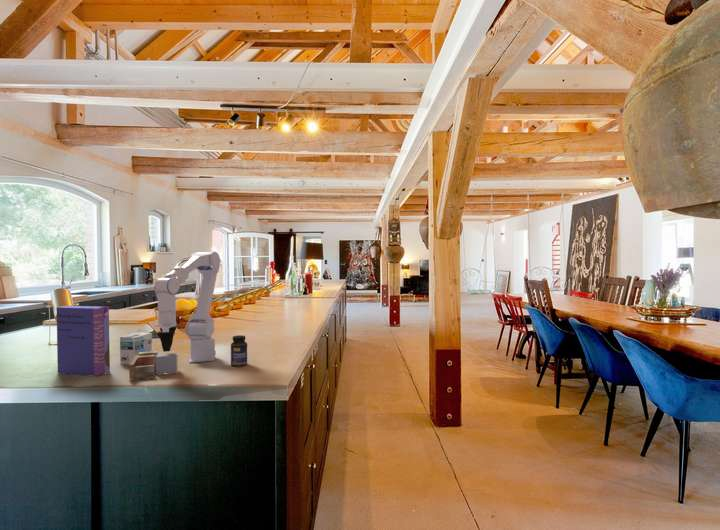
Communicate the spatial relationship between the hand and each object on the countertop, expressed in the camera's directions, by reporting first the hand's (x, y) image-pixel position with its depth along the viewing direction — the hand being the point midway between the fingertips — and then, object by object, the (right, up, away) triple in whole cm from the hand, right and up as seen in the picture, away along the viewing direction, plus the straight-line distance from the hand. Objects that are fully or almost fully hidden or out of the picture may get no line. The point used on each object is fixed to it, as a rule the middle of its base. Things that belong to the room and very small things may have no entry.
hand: (167, 348), depth 146 cm
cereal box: (-30, -9, 0) cm, 32 cm away
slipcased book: (0, -9, 0) cm, 9 cm away
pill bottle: (+23, -9, +10) cm, 26 cm away
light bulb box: (-20, -9, +17) cm, 28 cm away
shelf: (-8, -9, -2) cm, 12 cm away
